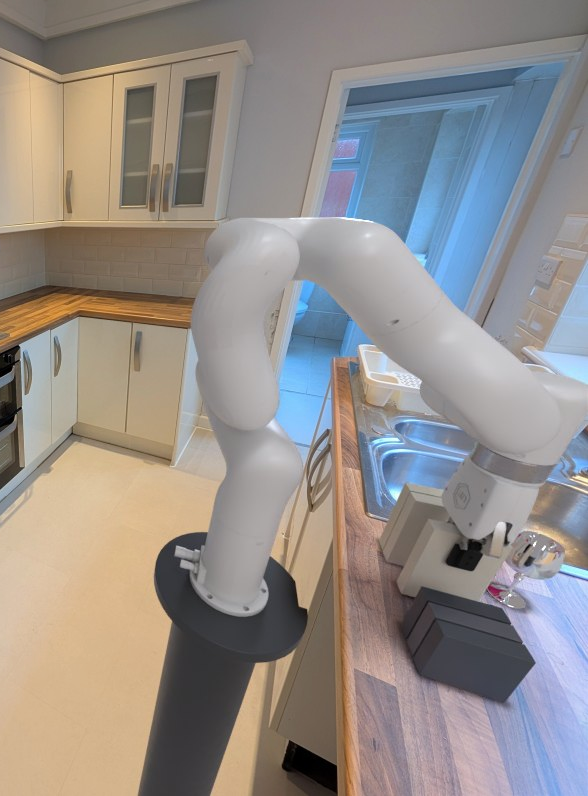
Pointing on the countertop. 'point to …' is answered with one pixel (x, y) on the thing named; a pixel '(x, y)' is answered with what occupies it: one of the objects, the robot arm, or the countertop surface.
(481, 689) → the dark grey grooved block
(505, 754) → the countertop surface
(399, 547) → the beige rectangular block
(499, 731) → the countertop surface
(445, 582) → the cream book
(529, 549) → the wineglass
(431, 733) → the countertop surface
